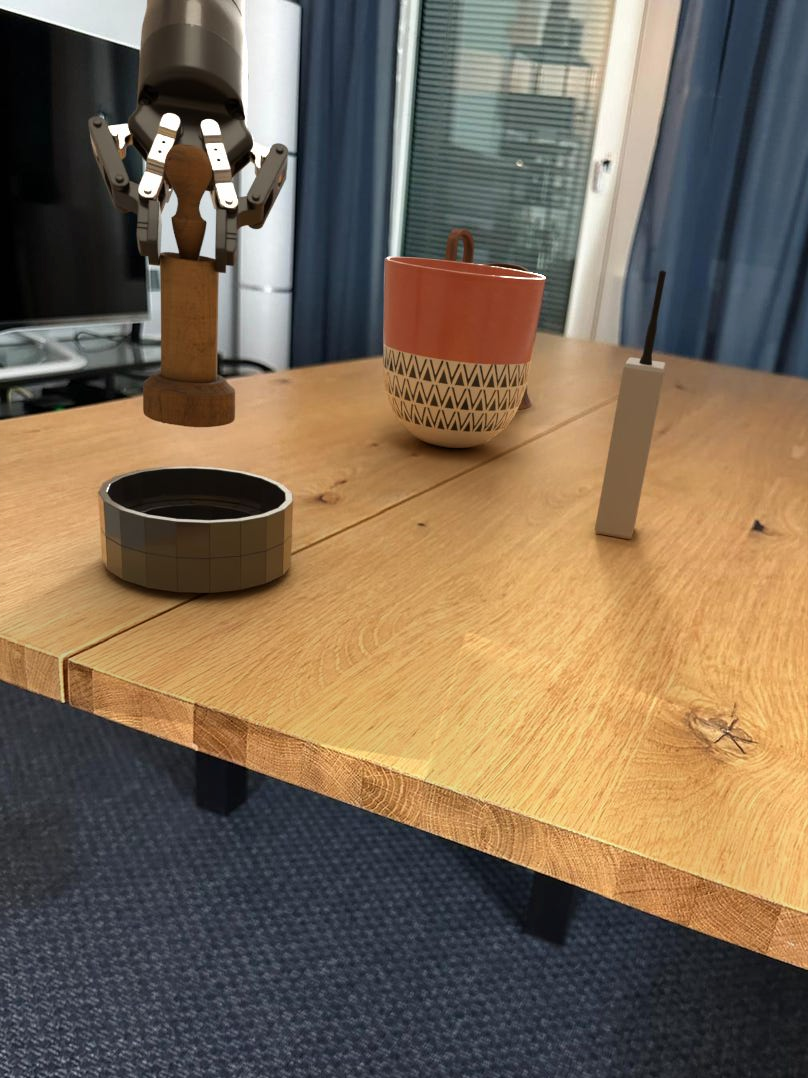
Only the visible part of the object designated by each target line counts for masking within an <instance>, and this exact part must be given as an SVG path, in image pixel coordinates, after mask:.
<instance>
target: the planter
mask: <svg viewBox="0 0 808 1078" xmlns="http://www.w3.org/2000/svg"><path fill="white" fill-rule="evenodd" d="M546 282H547V277H546V276H544V275H542V274H538V273H533V272H531V273H529V272H524V271H519V270H513V269H507V268H500V267H494V266H487V265H484V264H479V263H473V264H472V263H464V262H462V261H456V262H455V261H446V260H445V259H437V258H436V259H435V258H425V257H410V256H387V257H385V258H384V269H383V323H382V325H383V326H382V328H383V329H382V370H383V371H382V372H383V373H382V374H383V381H384V387H385V392H386V396H387V400H388V402H389V406H390V407H391V410H392V412H393V414H394V415H395V416H396V418H397V419H398V420H399V423H401V424H402V426H403V427H404V428H405V429H406V430H407V431H408V432H409V433H410V434H412V435H413V436H414V437H416V438H417V439H418V440H421V442H425V443H427V444H430V445H433V446H437V447H441V448H446V449H447V448H449V449H469V448H473V447H478V446H481V445H483V444H485V443H487V442H489V441H490V440H492V439H494V437H496V436H497V435H499V434H500V433H501V432H502V431H504V430H505V428H507V426H508V425H509V424H510V423H511V422H512V420H513V419H514V417H515V415H517V414H516V413H517V411H518V410H519V409H518V407H519V405H520V403H521V400H522V397H523V395H524V392H525V388H526V385H528V378H529V375H530V374H529V373H530V369H531V363H532V358H533V354H534V349H535V344H536V343H535V342H536V338H537V331H538V326H539V322H540V316H541V311H542V306H543V301H544V296H545V289H546V285H547V283H546Z"/></svg>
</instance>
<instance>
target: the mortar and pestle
mask: <svg viewBox="0 0 808 1078" xmlns="http://www.w3.org/2000/svg"><path fill="white" fill-rule="evenodd" d="M164 166H165V172H166V175H167V178H168V180H169V182H170V184H171V186H172V188H173V192H174V194H175V196H176V200H177V206H176V211H175V213H174V215H173V216H171V225H172V231H173V234H174V239H175V243H176V246H177V251H178V252H173V251H172V252H171V251H164V252H161V254H160V266H159V273H160V274H159V275H160V276H159V277H160V279H159V280H160V369H159V370H156V371H153V373H152V374H151V375H150V376H149V377H148V378H146V379H145V380H144V381H143V384H142V411H143V414H144V416H145V417H147V418H148V419H150V420H153V421H155V422H159V423H162V424H168V425H174V426H179V427H180V426H181V427H189V428H216V427H221V426H226V425H229V424H231V423H233V422H234V421H235V419H236V390H235V388H234V386H232V385H231V384H230V383H228V381H227V380H226V378H225V377H223V376H222V375H220V374H218V348H219V347H218V342H219V341H218V340H219V339H218V338H219V336H218V335H219V284H220V283H219V281H220V273H218V272H216V267H215V258H212V257H208V256H204V255H201V250H202V247H203V244H204V240H205V235H206V231H207V224H208V223H207V220H205V219H204V218H203V217H202V215H201V212H200V211H201V210H200V205H201V201H202V199H203V196H204V194H205V193H206V192H207V191H206V189H207V187H208V185H209V183H210V180H211V177H212V167H211V163H210V160H209V158H208V156H207V154H206V153H205V152H204V150H202V149H201V148H200V147H198V146H193V145H185V144H178V145H175V146H173V147H171V148H170V150H169V151H168V153H167V155H166V157H165V164H164Z"/></svg>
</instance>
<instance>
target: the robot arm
mask: <svg viewBox="0 0 808 1078" xmlns="http://www.w3.org/2000/svg"><path fill="white" fill-rule="evenodd" d="M245 7H246V2H245V0H146V8H145V13H144V16H143V21H142V25H141V32H140V33H141V34H140V48H139V49H140V50H139V62H138V63H139V64H138V81H137V95H136V96H137V97H136V98H137V99H136V108H135V110H134V111H133V112H132V113H131V115H130V116H129V117H128V119H127V120H128V121H127V123H121V124H113V125H108V122H107V121H106V119H105V118H104V117H102V116H96V115H95V116H91V117H90V118H88V120H87V125H88V131H89V136H90V142H91V148H92V153H93V156H94V158H95V162H96V164H97V166H98V168H99V171H100V173H101V176H102V179H103V181H104V184H105V186H106V190H107V191H108V194H109V196H110V199H111V201H112V204H113V206H114V207H113V208H114V209H115V210H117V211H118V212H119V213H123V214H127V213H129V212H132V213H134V214H136V215H137V218H136V234H135V235H136V242H137V249H138V252H139V254H140V256H141V257H147V261H148V262H147V263H148V265H149V266H157V267H158V266H159V267H160V254H161V253H162V234H163V233H162V232H163V231H162V229H163V224H162V223H163V222H162V213H163V211H164V208H165V206H166V204H168V203H169V202H170V200H171V197H172V194H173V192H174V190H173V188H172V186H171V184H170V182H169V180H168V178H167V175H166V172H165V166H164V164H165V157H166V155H167V153H168V151H169V150H170V148H171V147H173V146H175V145H178V144H185V145H193V146H198V147H200V148H201V149H202V150H204V152H205V153H206V154H207V156H208V158H209V160H210V163H211V167H212V177H211V180H210V183H209V185H208V187H207V189H206V191H205V192H209V196H210V199H211V204H212V206H213V209H214V210H215V238H214V240H215V242H214V244H215V245H214V246H215V247H214V253H215V254H214V259H215V267H216V272H218V273H219V274H227V266H228V267H234V266H235V265H236V262H237V259H238V258H237V257H238V231H239V229H240V228H243V227H245V226H246V227H247V226H248V227H249V228H250V229H252V230H260V229H262V228H263V227H264V225H265V223H266V221H267V219H268V218H269V214H270V213H271V211H272V209H273V207H274V205H275V203H276V201H277V200H278V199H277V198H278V197H279V194H280V192H281V190H282V188H283V187H284V185H285V182H286V180H287V175H288V163H289V162H288V161H289V148H288V147H287V146H286V145H285V144H283V143H279V142H276V143H273V144H272V145H271V147H270V148H269V147H267V146H265V145H261V144H260V143H258V142H255V141H254V137H253V134H252V133H251V131H250V129H249V128H248V124H247V123H248V82H249V71H248V46H247V39H246V33H245V14H246V13H245ZM129 146H132V147H133V148H134V149H135V151H136V152H137V153H138V154H139V155H140V157H141V158H142V159H143V160H144V162H145V169H144V173H143V175H142V177H141V180H140V182H139V183H136V182H135V181H132V180H130V177H129V174H128V172H127V170H126V167H125V164H124V162H123V160H124V159H125V158H126V157H127V148H128V147H129ZM250 163H252V164H253V165H254V174H255V175H254V176H255V178H254V180H253V181H252V184H251V186H250V187H249V189H248V192H247V194H246V195H245V196H238V195H237V192H236V189H235V185H234V181H233V178H234V177H235V176H236V175H237V174H239V173H240V172H241V171H242V170H243V169H244V168H245V167H246V166H247V165H249V164H250Z"/></svg>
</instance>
